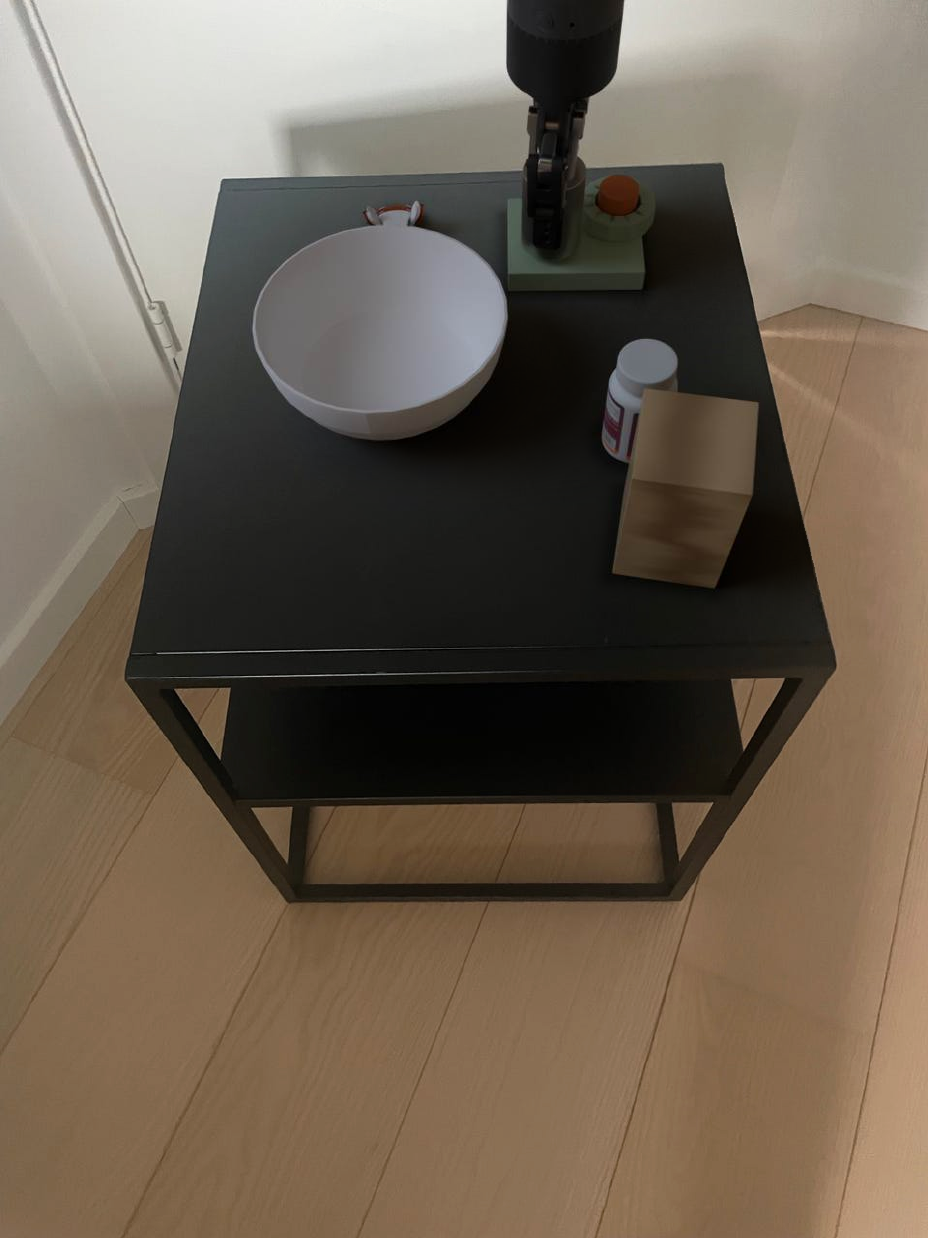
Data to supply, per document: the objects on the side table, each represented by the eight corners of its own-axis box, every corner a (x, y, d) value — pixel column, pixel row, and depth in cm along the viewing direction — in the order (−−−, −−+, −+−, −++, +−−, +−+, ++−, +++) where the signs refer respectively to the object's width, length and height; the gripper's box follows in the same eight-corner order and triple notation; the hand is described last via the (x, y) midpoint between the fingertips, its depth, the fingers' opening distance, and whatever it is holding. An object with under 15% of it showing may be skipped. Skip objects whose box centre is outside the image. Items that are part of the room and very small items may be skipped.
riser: (721, 505, 68) (759, 401, 58) (715, 589, 65) (753, 494, 55) (623, 491, 69) (644, 387, 59) (612, 573, 66) (631, 478, 56)
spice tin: (583, 223, 78) (590, 151, 73) (575, 264, 76) (581, 194, 71) (526, 217, 79) (528, 146, 73) (516, 257, 77) (517, 187, 71)
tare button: (635, 190, 79) (638, 173, 78) (638, 216, 78) (640, 200, 76) (596, 190, 79) (598, 174, 78) (598, 217, 78) (600, 201, 76)
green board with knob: (646, 209, 83) (652, 174, 80) (655, 289, 78) (661, 255, 75) (507, 212, 83) (507, 176, 80) (507, 291, 79) (508, 257, 76)
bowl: (512, 299, 78) (513, 226, 72) (501, 482, 70) (502, 417, 63) (291, 294, 79) (273, 221, 73) (254, 473, 71) (230, 409, 64)
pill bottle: (674, 426, 72) (694, 345, 64) (652, 473, 70) (670, 396, 62) (614, 406, 73) (627, 325, 65) (591, 453, 71) (601, 374, 63)
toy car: (426, 209, 84) (424, 177, 81) (427, 274, 80) (425, 243, 77) (367, 212, 84) (362, 180, 81) (365, 277, 80) (360, 247, 77)
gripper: (610, 73, 57) (587, 291, 72) (636, -59, 64) (610, 167, 79) (487, 62, 58) (489, 280, 73) (525, -66, 65) (520, 158, 80)
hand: (552, 220), depth 76 cm, fingers closed on spice tin, 4 cm apart
